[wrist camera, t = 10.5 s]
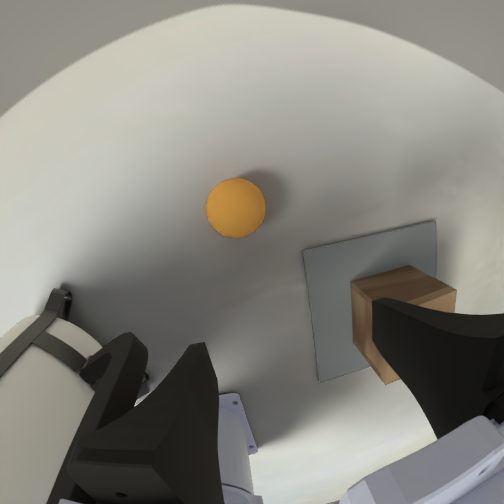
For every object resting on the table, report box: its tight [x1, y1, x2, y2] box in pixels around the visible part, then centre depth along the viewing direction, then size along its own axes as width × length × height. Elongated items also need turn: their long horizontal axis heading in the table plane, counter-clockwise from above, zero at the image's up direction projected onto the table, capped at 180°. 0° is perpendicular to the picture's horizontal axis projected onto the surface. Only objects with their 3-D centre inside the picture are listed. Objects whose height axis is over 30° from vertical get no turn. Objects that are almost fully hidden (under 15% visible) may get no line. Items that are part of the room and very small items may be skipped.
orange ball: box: [206, 178, 266, 238], centre depth 17 cm, size 4×4×4 cm
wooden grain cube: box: [350, 265, 457, 385], centre depth 19 cm, size 6×6×6 cm
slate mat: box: [302, 221, 436, 383], centre depth 22 cm, size 12×12×1 cm
